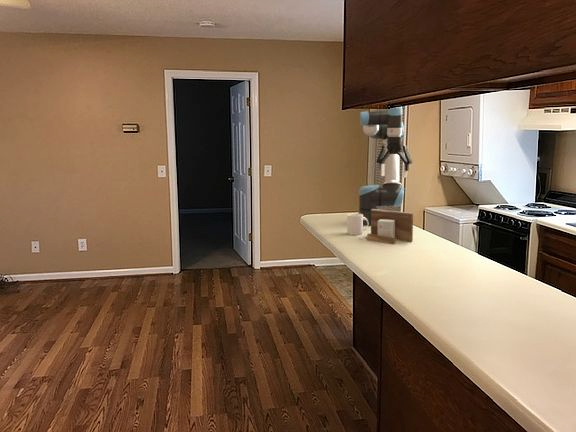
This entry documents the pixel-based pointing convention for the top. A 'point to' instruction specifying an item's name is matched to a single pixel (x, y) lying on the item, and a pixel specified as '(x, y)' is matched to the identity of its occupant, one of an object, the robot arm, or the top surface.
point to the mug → (355, 224)
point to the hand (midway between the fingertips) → (393, 176)
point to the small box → (386, 227)
